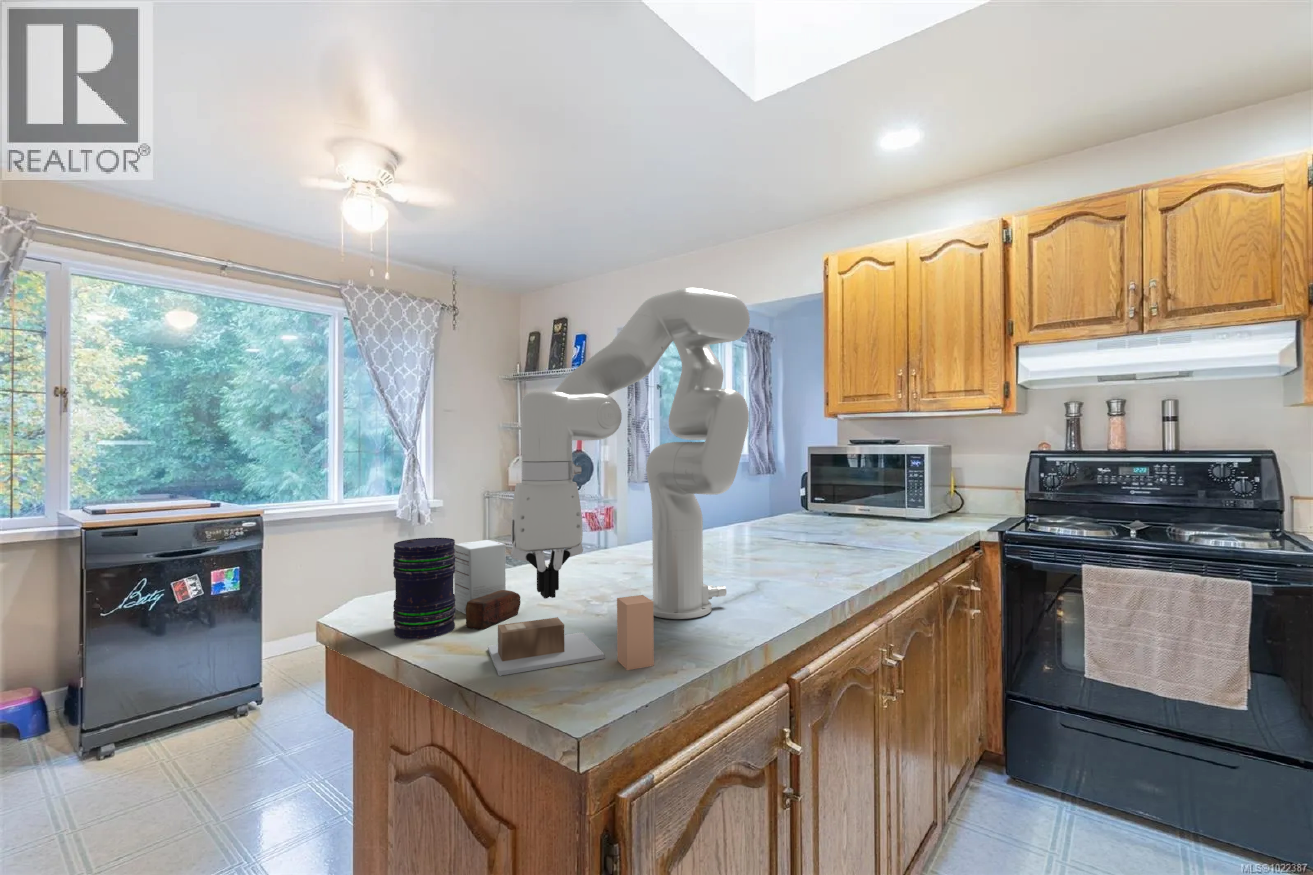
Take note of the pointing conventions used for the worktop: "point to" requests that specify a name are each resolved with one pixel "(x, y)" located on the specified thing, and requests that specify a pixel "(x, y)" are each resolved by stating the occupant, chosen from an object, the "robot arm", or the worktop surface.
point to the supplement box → (478, 570)
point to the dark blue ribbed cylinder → (424, 588)
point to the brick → (492, 609)
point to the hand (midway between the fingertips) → (547, 595)
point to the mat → (550, 656)
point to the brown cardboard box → (530, 638)
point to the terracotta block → (635, 632)
